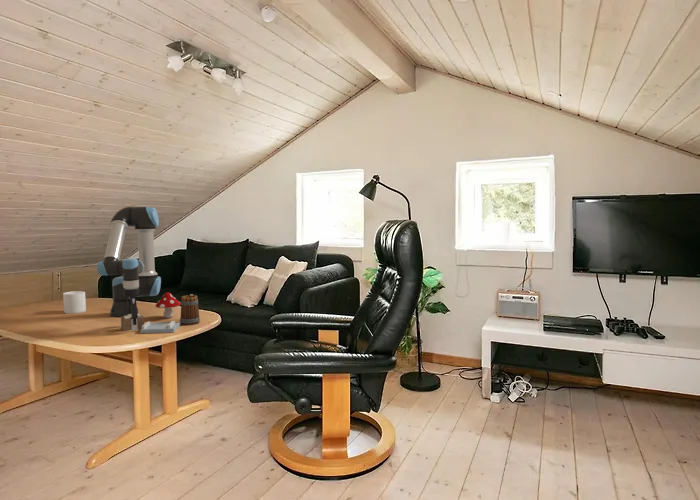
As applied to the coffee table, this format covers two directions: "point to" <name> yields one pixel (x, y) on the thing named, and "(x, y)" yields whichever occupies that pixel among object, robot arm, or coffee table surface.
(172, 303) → the decorative mushroom
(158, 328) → the grey serving tray
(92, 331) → the coffee table surface
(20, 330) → the coffee table surface
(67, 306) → the cup
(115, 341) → the coffee table surface
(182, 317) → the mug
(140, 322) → the brown box
